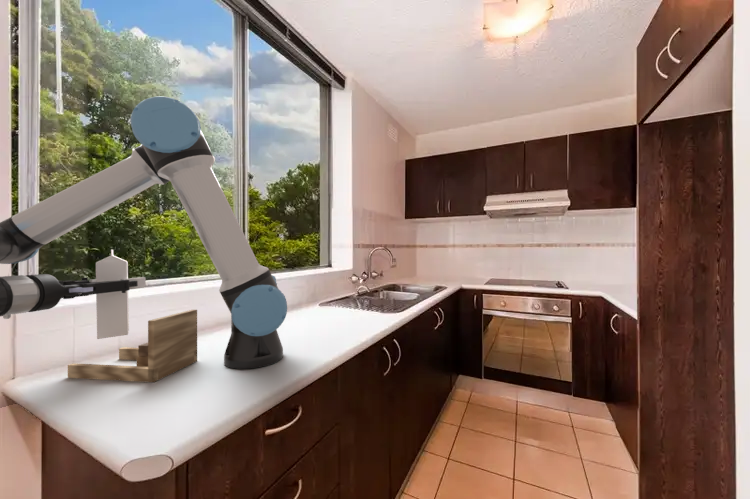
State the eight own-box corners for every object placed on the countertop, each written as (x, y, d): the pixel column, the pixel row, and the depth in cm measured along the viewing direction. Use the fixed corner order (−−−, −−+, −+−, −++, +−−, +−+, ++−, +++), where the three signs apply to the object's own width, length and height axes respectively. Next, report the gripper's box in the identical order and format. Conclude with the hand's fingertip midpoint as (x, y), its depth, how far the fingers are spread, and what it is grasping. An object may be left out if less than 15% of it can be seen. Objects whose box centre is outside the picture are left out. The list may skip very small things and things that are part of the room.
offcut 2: (175, 357, 81) (175, 347, 81) (158, 367, 74) (158, 356, 74) (155, 357, 81) (155, 348, 81) (136, 367, 74) (136, 357, 74)
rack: (197, 361, 84) (197, 309, 84) (153, 382, 70) (153, 320, 70) (123, 357, 87) (123, 308, 87) (67, 377, 73) (67, 318, 73)
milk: (97, 339, 75) (94, 249, 75) (99, 334, 80) (97, 249, 80) (128, 334, 79) (126, 249, 79) (129, 330, 84) (127, 249, 84)
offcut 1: (174, 348, 81) (174, 339, 81) (155, 356, 75) (156, 345, 75) (157, 348, 81) (157, 338, 81) (138, 355, 75) (138, 345, 75)
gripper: (-18, 312, 63) (96, 296, 86) (70, 312, 60) (164, 295, 83) (-18, 275, 63) (96, 269, 86) (70, 274, 60) (164, 268, 83)
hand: (129, 282), depth 84 cm, fingers closed on milk, 8 cm apart
